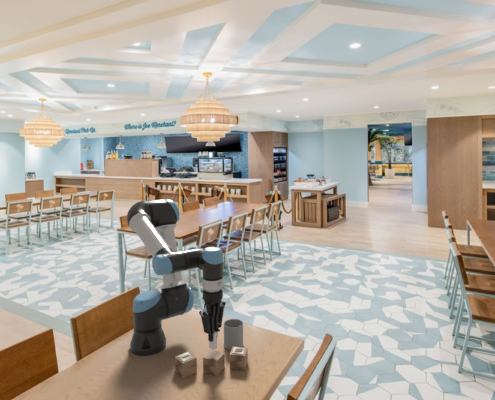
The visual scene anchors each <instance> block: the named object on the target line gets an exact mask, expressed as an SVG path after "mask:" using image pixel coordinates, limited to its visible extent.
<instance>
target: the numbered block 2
mask: <svg viewBox="0 0 495 400" xmlns="http://www.w3.org/2000/svg"><path fill="white" fill-rule="evenodd" d="M248 353H249V352H248V347H245V346H242V347H235V346H233V347H232V350H230V353H229V370H238V371H246V368H247V366H248V361H249V360H248V355H249V354H248Z"/></svg>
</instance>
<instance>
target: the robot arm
mask: <svg viewBox="0 0 495 400" xmlns="http://www.w3.org/2000/svg"><path fill="white" fill-rule="evenodd" d="M179 220H180V210H179V207H178V205H177V203H176V202H175V201H174V200H172V199H165V198H163V199H153V200H152V199H151V200H140V201H137V202H135V203H134V204H133V205H132V206H130V208H129V209H128V210H127V214H126V223H127V225H128V227H129V229H130V230H131V231H132V232H134V233H136V234H137V236H138V237H139V239H140V240H141V242H142V243H143V244H144V246H145V248H146V249H147V251H148V252H149V254H150V255H151V256H152V261H151V266H152V269H153V272H154V274H156V275H157V276H162V281H163V285H162V286H161V288H160V290H161V291H159V290H156V289H155V290H154V289H153V290H145V291H142V292H141V293H139V294H137V295H136V296H135V297H134V298H133V300H132V317H133V319H132V321H133V333H132V336H131V340H130V344H129V350H130V352H131V353H132V354H134V355H137V356H149V355H150V356H151V355H154V354H156V353H159V352H161V351H162V350H164V349H165V347H166V346H167V336H166V335H165V332H164V330H163V325H162V321H164V320H167V319H171V318H175V317H178V316H183V315H185V314H187V313H189V312H190V311H192V309H193V307H194V303H195V297H194V292H193V288H191V287H190V286H189V285H187V282H186V281H185V280H183V275H182V272H184V271H188V270H189V271H190V270H194V269H200V270H202V299H203V302H204V304H203V309H202V310H199V312H198V313H199V316H200V318H201V323H202V329H203V332H204V334H208V338H207V340H208V348H209V349H211V350H214V351H216V349H218V332H220V330H221V329H220V328H222V325H223V317H224V311H225V306H226V301H223V299H224V294H223V293H224V292H223V291H224V288H223V287H224V286H223V283H224V282H223V278H224V277H223V275H224V256H223V249H222V248H220V247H218V246H217V247H216V246H207V247H205V248H203V247H200V246H197V245H194V246H190V247H188V249H186V250H179V251H178V246H177V240H176V234H175V229H176V227H177V223H178V222H179Z"/></svg>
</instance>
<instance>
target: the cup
mask: <svg viewBox="0 0 495 400" xmlns="http://www.w3.org/2000/svg"><path fill="white" fill-rule="evenodd" d="M233 346H235V347H244V322H243V320H240V319H238V318H231V319H227V320H225V321H224V322H223V347H224V348H225V349H227V350H230V351H231V350H232V347H233Z"/></svg>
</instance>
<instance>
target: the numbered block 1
mask: <svg viewBox="0 0 495 400" xmlns="http://www.w3.org/2000/svg"><path fill="white" fill-rule="evenodd" d="M174 369H175V372H176V373H177V375H178V376H179V377H181V378H182V379H185V378H187V377H190V376H192V375H194V374H196V373H198V357H197V356H195V355H194V354H193V353H192V352H190V350H188V351H186V352H183V353H181V354H178V355H175V356H174Z"/></svg>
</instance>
